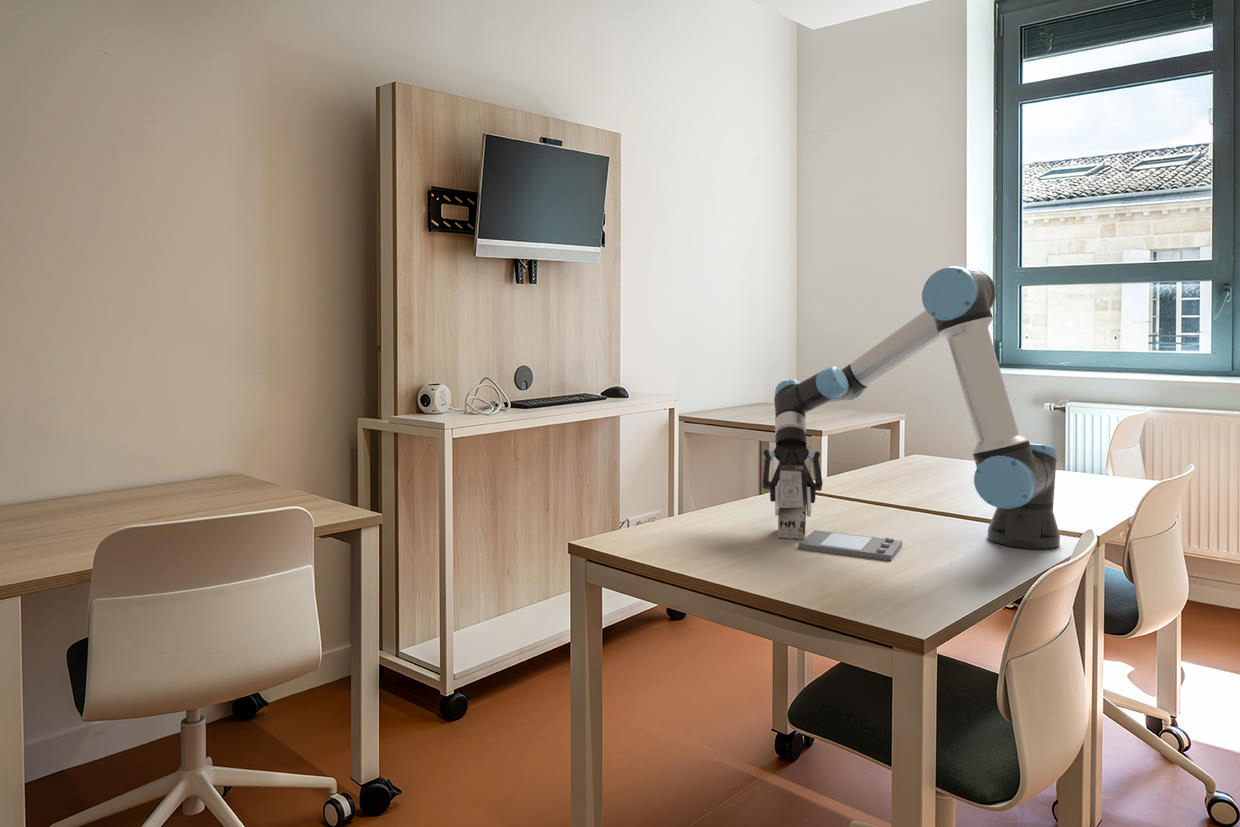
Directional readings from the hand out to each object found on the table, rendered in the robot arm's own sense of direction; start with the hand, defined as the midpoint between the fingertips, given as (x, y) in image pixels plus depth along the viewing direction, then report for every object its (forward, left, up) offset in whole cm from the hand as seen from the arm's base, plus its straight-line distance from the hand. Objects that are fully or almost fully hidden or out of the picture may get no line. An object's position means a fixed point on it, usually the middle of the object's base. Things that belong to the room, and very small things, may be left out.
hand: (793, 512), depth 199 cm
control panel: (-14, +2, -6) cm, 15 cm away
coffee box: (+1, -3, -6) cm, 7 cm away
